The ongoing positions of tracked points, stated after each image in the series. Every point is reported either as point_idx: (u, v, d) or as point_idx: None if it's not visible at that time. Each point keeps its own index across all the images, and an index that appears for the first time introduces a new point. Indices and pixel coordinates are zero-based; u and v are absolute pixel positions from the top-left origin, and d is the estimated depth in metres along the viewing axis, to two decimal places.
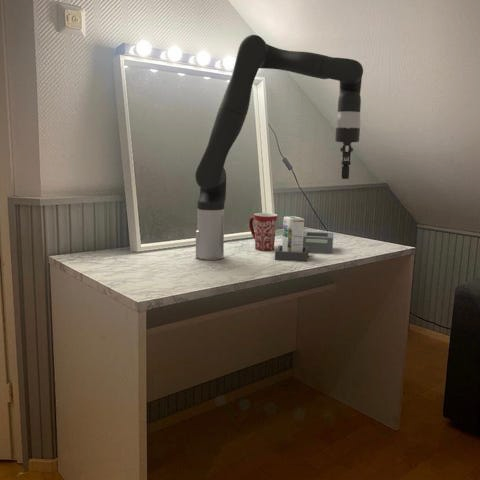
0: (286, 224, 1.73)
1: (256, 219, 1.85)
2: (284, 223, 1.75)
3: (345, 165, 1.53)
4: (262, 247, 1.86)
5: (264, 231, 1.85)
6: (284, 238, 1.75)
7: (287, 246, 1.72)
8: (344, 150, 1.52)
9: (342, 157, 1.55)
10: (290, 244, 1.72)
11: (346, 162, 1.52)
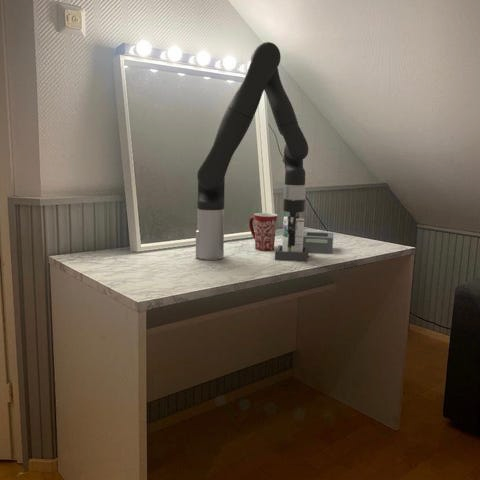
0: (286, 224, 1.73)
1: (256, 219, 1.85)
2: (284, 223, 1.75)
3: (291, 234, 1.69)
4: (262, 247, 1.86)
5: (264, 231, 1.85)
6: (284, 238, 1.75)
7: (288, 246, 1.72)
8: (289, 221, 1.67)
9: None
10: None
11: (291, 232, 1.68)
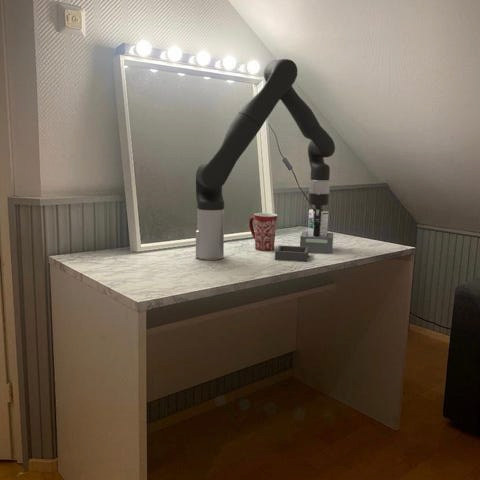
0: (312, 216, 1.87)
1: (256, 219, 1.85)
2: (309, 215, 1.88)
3: (316, 225, 1.82)
4: (262, 247, 1.86)
5: (264, 231, 1.85)
6: (309, 230, 1.88)
7: None
8: (315, 213, 1.81)
9: (314, 218, 1.84)
10: None
11: (317, 223, 1.81)
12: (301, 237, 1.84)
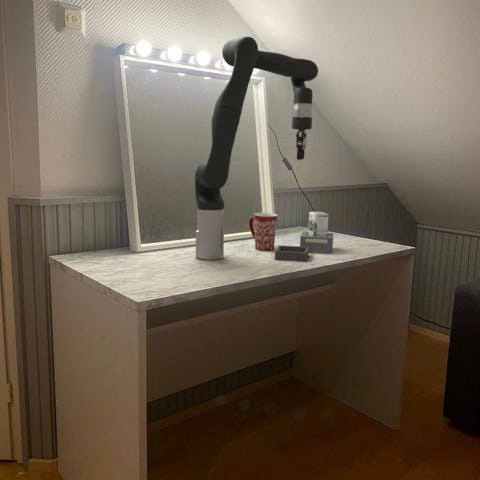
0: (312, 219, 1.87)
1: (256, 219, 1.85)
2: (309, 218, 1.89)
3: (299, 148, 1.84)
4: (262, 247, 1.86)
5: (264, 231, 1.85)
6: (309, 232, 1.89)
7: None
8: (298, 135, 1.83)
9: (297, 141, 1.86)
10: None
11: (299, 145, 1.83)
12: (301, 237, 1.84)
